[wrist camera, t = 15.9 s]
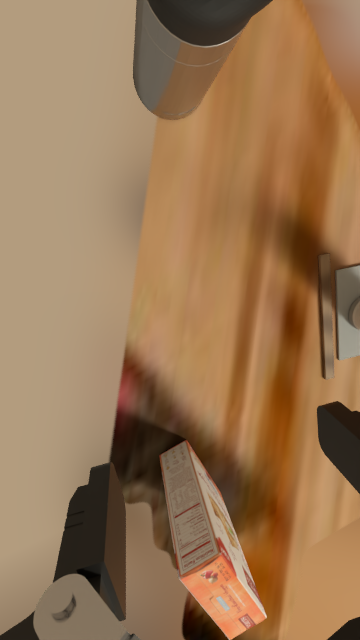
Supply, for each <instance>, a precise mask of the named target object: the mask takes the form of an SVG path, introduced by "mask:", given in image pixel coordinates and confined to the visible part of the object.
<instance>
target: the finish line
mask: <svg viewBox="0 0 360 640" xmlns="http://www.w3.org/2000/svg"><path fill="white" fill-rule="evenodd" d="M318 263H319V284H320V305H321V326H322V347H323V367H324V379H325V380H328V379H332V378H334V353H333V325H332V298H331V270H330V254H329V253H327V254H322V255H318Z"/></svg>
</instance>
